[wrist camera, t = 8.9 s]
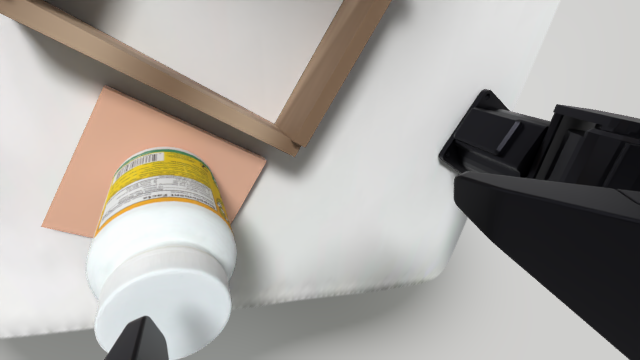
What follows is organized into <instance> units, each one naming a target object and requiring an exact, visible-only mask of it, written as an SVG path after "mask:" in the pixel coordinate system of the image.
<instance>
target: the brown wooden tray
mask: <svg viewBox="0 0 640 360" xmlns="http://www.w3.org/2000/svg"><path fill="white" fill-rule="evenodd" d="M391 1H392V0H344V1H343V3H342V4H341V6H340V8H339V10H338V12H337V13H336V15H335V17H334V19H333V21H332V22H331V24H330V26H329V28H328V29H327V31H326V33H325V35H324V37H323V38H322V40H321V42H320V44H319V46H318V47H317V49H316V51H315V53H314V54H313V56H312V58H311V60H310V62H309V63H308V65H307V67H306V69H305V71H304V72H303V74H302V76H301V78H300V80H299V81H298V83H297V85H296V87H295V88H294V90H293V92H292V94H291V96H290V97H289V99H288V101H287V103H286V105H285V106H284V108H283V110H282V112H281V113H280V115H279V117H278V119H277V121H276V122H275V124H273V123H271V122H270V121H268V120H266V119H264V118H262V117H260V116H258V115H257V114H255V113H253V112H251V111H249V110H247V109H245V108H243V107H242V106H240V105H238V104H236V103H234V102H232V101H230V100H229V99H227V98H225V97H223V96H221V95H219V94H217V93H215V92H214V91H212V90H210V89H208V88H206V87H204V86H202V85H201V84H199V83H197V82H195V81H193V80H191V79H189V78H188V77H186V76H184V75H182V74H180V73H178V72H176V71H174V70H173V69H171V68H169V67H167V66H165V65H163V64H161V63H160V62H158V61H156V60H154V59H152V58H150V57H148V56H146V55H145V54H143V53H141V52H139V51H137V50H135V49H133V48H132V47H130V46H128V45H126V44H124V43H122V42H120V41H119V40H117V39H115V38H113V37H111V36H109V35H107V34H105V33H104V32H102V31H100V30H98V29H96V28H94V27H92V26H91V25H89V24H87V23H85V22H83V21H81V20H79V19H77V18H76V17H74V16H72V15H70V14H68V13H66V12H64V11H63V10H61V9H59V8H57V7H55V6H53V5H51V4H50V3H48V2H46V1H44V0H0V13H1V14H3V15H5V16H7V17H9V18H11V19H13V20H15V21H17V22H19V23H21V24H23V25H25V26H27V27H30V28H32V29H34V30H36V31H38V32H40V33H42V34H44V35H46V36H48V37H50V38H52V39H54V40H56V41H58V42H60V43H62V44H64V45H66V46H68V47H70V48H73V49H75V50H77V51H79V52H81V53H83V54H85V55H87V56H89V57H91V58H93V59H95V60H97V61H99V62H101V63H103V64H105V65H107V66H109V67H111V68H113V69H116V70H118V71H120V72H122V73H124V74H126V75H128V76H130V77H132V78H134V79H136V80H138V81H140V82H142V83H144V84H146V85H148V86H150V87H152V88H154V89H156V90H158V91H161V92H163V93H165V94H167V95H169V96H171V97H173V98H175V99H177V100H179V101H181V102H183V103H185V104H187V105H189V106H191V107H193V108H195V109H197V110H199V111H201V112H204V113H206V114H208V115H210V116H212V117H214V118H216V119H218V120H220V121H222V122H224V123H226V124H228V125H230V126H232V127H234V128H236V129H238V130H240V131H242V132H244V133H246V134H249V135H251V136H253V137H255V138H257V139H259V140H261V141H263V142H265V143H267V144H269V145H271V146H273V147H275V148H277V149H279V150H281V151H283V152H285V153H287V154H289V155H292V156H294V157H295V156H296V154H297V152H298V151H299V149H300V147H301V146H303V147H306V146H307V144H308V142H309V140H310V139H311V137H312V135H313V134H314V132H315V130H316V129H317V127H318V125H319V123H320V122H321V120H322V118H323V117H324V115H325V113H326V111H327V110H328V108H329V106H330V105H331V103H332V101H333V100H334V98H335V96H336V94H337V93H338V91H339V89H340V88H341V86H342V84H343V82H344V81H345V79H346V77H347V76H348V74H349V72H350V71H351V69H352V67H353V65H354V64H355V62H356V60H357V59H358V57H359V55H360V53H361V52H362V50H363V48H364V47H365V45H366V43H367V42H368V40H369V38H370V36H371V35H372V33H373V31H374V30H375V28H376V26H377V25H378V23H379V21H380V19H381V18H382V16H383V14H384V13H385V11H386V9H387V7H388V6H389V4H390V2H391Z"/></svg>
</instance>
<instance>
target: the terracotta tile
mask: <svg viewBox="0 0 640 360" xmlns="http://www.w3.org/2000/svg"><path fill="white" fill-rule="evenodd" d="M154 147H175V148H180V149H183V150H186V151H189V152H191V153H193V154H195V155H197V156H198V157H200V158H201V159H202V160H203V161H204V162H205V163H206V164H207V165H208V166H209V168H210V170H211V171H212V173H213V176H214V178H215V180H216V183H217V186H218V189H219V192H220V195H221V198H222V201H223V204H224V207H225V210H226V213H227V216H228V219H229V222H230V225H231V223H232V221H233V220H234V218H235V216H236V214H237V213H238V211H239V209H240V207H241V206H242V204H243V202H244V200H245V198H246V197H247V195H248V193H249V191H250V190H251V188H252V186H253V184H254V183H255V181H256V179H257V177H258V176H259V174H260V172H261V170H262V169H263V167H264V165H265V163H266V159H265V158H264V157H262V156H260V155H257V154H255V153H253V152H251V151H249V150H247V149H244V148H242V147H240V146H238V145H236V144H233V143H231V142H229V141H227V140H225V139H222V138H220V137H218V136H216V135H214V134H212V133H209V132H207V131H205V130H203V129H201V128H198V127H196V126H194V125H192V124H190V123H187V122H185V121H183V120H181V119H179V118H177V117H174V116H172V115H170V114H168V113H166V112H163V111H161V110H159V109H157V108H155V107H152V106H150V105H148V104H146V103H144V102H142V101H139V100H137V99H135V98H133V97H131V96H128V95H126V94H124V93H122V92H120V91H117V90H115V89H113V88H111V87H109V86H107V85H105V86H104V87H103V89H102V91H101V93H100V96H99V98H98V100H97V102H96V105H95V107H94V109H93V111H92V114H91V116H90V118H89V120H88V123H87V125H86V127H85V129H84V132H83V134H82V136H81V138H80V141H79V143H78V145H77V147H76V150H75V152H74V154H73V156H72V158H71V161H70V163H69V165H68V167H67V170H66V172H65V174H64V176H63V179H62V181H61V183H60V185H59V188H58V190H57V192H56V194H55V197H54V199H53V201H52V203H51V206H50V208H49V210H48V212H47V215H46V217H45V219H44V221H43V224H42V226H41V227H45V228H50V229H54V230H59V231H63V232H68V233H72V234H77V235H82V236H86V237H91V238H93V237H94V234H95V231H96V228H97V225H98V222H99V219H100V216H101V213H102V210H103V206H104V203H105V200H106V197H107V194H108V191H109V188H110V185H111V182H112V179H113V176H114V174H115V172H116V171H117V169H118V168H119V167H120V166H121V164H122V163H123V162H124V161H125V160H127V159H128V158H129V157H131V156H132V155H134V154H136V153H138V152H140V151H143V150H146V149H149V148H154Z"/></svg>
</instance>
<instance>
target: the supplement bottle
mask: <svg viewBox="0 0 640 360" xmlns="http://www.w3.org/2000/svg"><path fill="white" fill-rule="evenodd" d="M236 258H237V250H236V243H235V239H234V235H233V232H232V229H231V226H230V222H229V219H228V216H227V213H226V210H225V207H224V204H223V201H222V198H221V195H220V192H219V189H218V186H217V183H216V180H215V178H214V176H213V173H212V171H211V170H210V168H209V166H208V165H207V164H206V163H205V162H204V161H203V160H202V159H201V158H200V157H198V156H197V155H195V154H193V153H191V152H189V151H186V150H183V149H180V148H175V147H154V148H149V149H146V150H143V151H140V152H138V153H136V154H134V155H132V156H131V157H129V158H128V159H127V160H125V161H124V162H123V163H122V164H121V166H120V167H119V168H118V169H117V171H116V172H115V174H114V176H113V179H112V182H111V185H110V188H109V191H108V194H107V197H106V200H105V203H104V206H103V210H102V213H101V216H100V219H99V222H98V225H97V228H96V231H95V234H94V237H93V240H92V242H91V245H90V249H89V252H88V255H87V260H86V276H87V281H88V284H89V287H90V289H91V291H92V293H93V294H94V296H95V297H96V298H97V300H98V308H97V313H96V318H95V327H94V329H95V335H96V338H97V340H98V342H99V344H100V346H101V347H102V348H103V349H104V350H105V351H106V352H107V353H109V351H110V350H111V348H112V347H113V345H114V343H115V342H116V340H117V339H118V337H119V336H120V334H121V333H122V331H123V329H124V328H125V326H126V325H127V324H128V323H129V322H131V321H133V320H135V319H137V318H140V317H142V316H149V317H150V318H151V319H152V320H153V322H154V323H155V324H156V326H157V327H158V328H159V330H160V331H161V332H162V334H163V335H164V337H165V339H166V343H167V349H168V356H169V360H178V359H181V358H183V357H186V356H189V355H191V354H193V353H195V352H197V351H199V350H200V349H202V348H204V347H205V346H206V345H208V344H209V343H210V342H211V341H213V340H214V339H215V338H216V337H217V336H218V335H219V334H220V332H221V331H222V330H223V329H224V327H225V325H226V323H227V322H228V319H229V316H230V314H231V309H232V300H231V294H230V288H229V283H228V282H229V280H230V278H231V276H232V274H233V271H234V269H235V265H236Z"/></svg>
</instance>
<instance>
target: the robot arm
mask: <svg viewBox="0 0 640 360" xmlns="http://www.w3.org/2000/svg"><path fill="white" fill-rule="evenodd" d="M440 159H442V160H443V161H444V162H446V163H447V164H449V165H450V166H452V167H453V168H454V169H456V170H457V171H459V172H460V173H461V174H460V175H457V176H456V177H455V179H454V201H455V203H456V205H457V206H458V207H459V208H460V209H461V210H462V211H463V212H464V214H465V215H466V216H467V217H468V218H469V219H470V220H471V221H472V222H473V223H474V224H475V225H476V226H477V227H478V228H479V229H480V230H481V231H482V232H483V233H484V234H485V235H486V236H487V237H488V238H489V239H490V240H491V241H492V242H493V243H494V244H495V245H497V247H499V248H500V249H501V250H502V251H503V252H504V253H506V254H507V255H508V256H509V257H510V258H511V259H513V260H514V261H515V262H516V263H517V264H518V265H520V266H521V267H522V268H523V269H524V270H525V271H527V272H528V273H529V274H530V275H531V276H532V277H534V278H535V279H536V280H537V281H538V282H539V283H541V284H542V285H543V286H544V287H545V288H547V289H548V290H549V291H550V292H551V293H552V294H554V295H555V296H556V297H557V298H558V299H560V300H561V301H562V302H563V303H564V304H565V305H566V306H568V307H569V308H570V309H571V310H572V311H573V312H575V313H576V314H577V315H578V316H579V317H580V318H582V319H583V320H584V321H585V322H586V323H587V324H589V325H590V326H591V327H592V328H593V329H594V330H596V331H597V332H598V333H599V334H600V335H601V336H603V337H604V338H605V339H606V340H607V341H608V342H610V343H611V344H612V345H613V346H614V347H615V348H617V349H618V350H619V351H620V352H621V353H622V354H624V355H625V356H626V357H627V358H628V359H629V360H640V119H638V118H634V117H628V116H624V115H619V114H614V113H608V112H603V111H598V110H593V109H586V108H579V107H572V106H565V105H558V104H557V105H556V107H555V109H554V115H553V117H552V120H551V122H550V121H546V120H542V119H539V118H535V117H531V116H527V115H523V114H519V113H515V112H511V111H509V110H508V109H507V107H506V106H505V105H504V104H503V103H502V102H501V101H500V100H499V99H498V98H497V96H496V95H495V94H494V93H493V92H492V91H491V90H487V89H484V90H482V91H481V92H480V94H479V95H478V97H477V98H476V100H475V101H474V103H473V104H472V106H471V107H470V109H469V110H468V112H467V113H466V115H465V116H464V118H463V119H462V121H461V122H460V124H459V125H458V127H457V128H456V130H455V131H454V133H453V134H452V136H451V137H450V139H449V140H448V142H447V143H446V145H445V146H444V148H443V149H442V151H441V152H440ZM104 360H169V356H168V349H167V343H166V339H165V337H164V335H163V334H162V332H161V331H160V330H159V328H158V327H157V326H156V324H155V323H154V322H153V320H152V319H151V318H150V317H149V316H142V317H140V318H137V319H135V320H133V321H131V322H129V323H128V324H127V325H126V326H125V328H124V329H123V331H122V333H121V334H120V336H119V337H118V339H117V340H116V342H115V343H114V345H113V347H112V348H111V350H110V351H109V353H108V355H107V356H106V357H105V359H104Z"/></svg>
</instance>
